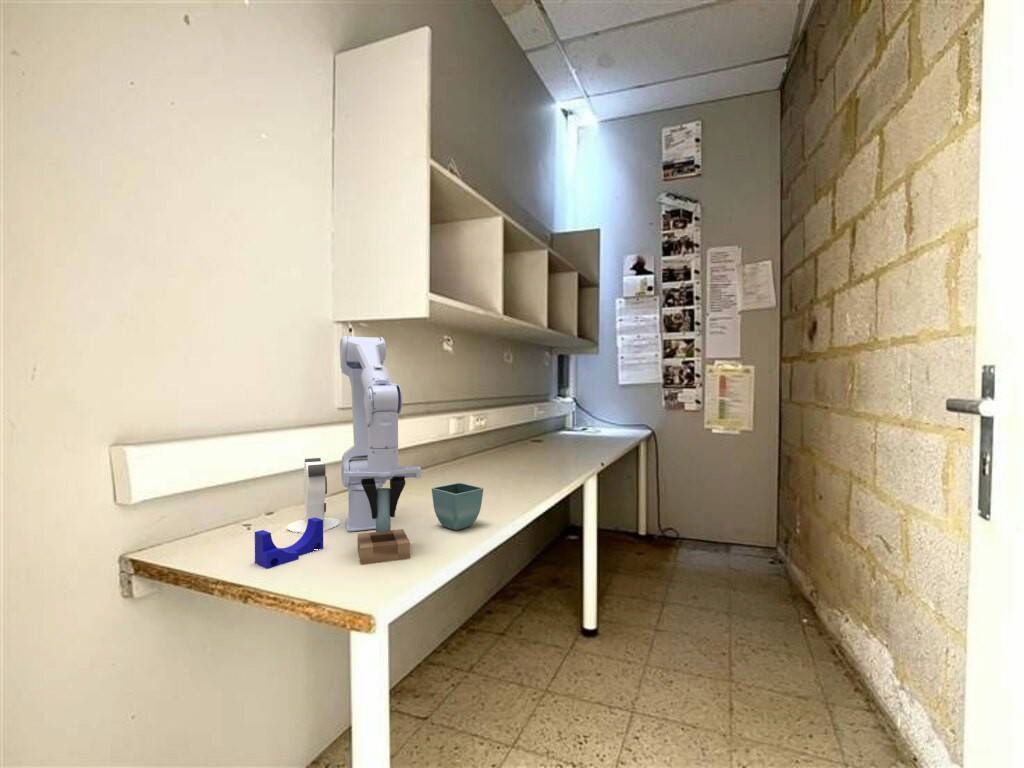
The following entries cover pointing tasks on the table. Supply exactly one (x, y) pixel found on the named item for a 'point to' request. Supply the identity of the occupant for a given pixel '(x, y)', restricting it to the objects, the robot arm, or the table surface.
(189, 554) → the table surface
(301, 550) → the blue cradle bracket
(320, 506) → the white tower device
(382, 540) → the open cardboard frame
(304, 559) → the table surface
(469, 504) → the flower pot
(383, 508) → the blue-gray dowel
